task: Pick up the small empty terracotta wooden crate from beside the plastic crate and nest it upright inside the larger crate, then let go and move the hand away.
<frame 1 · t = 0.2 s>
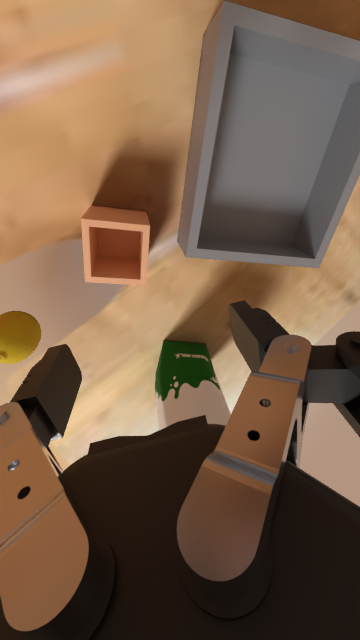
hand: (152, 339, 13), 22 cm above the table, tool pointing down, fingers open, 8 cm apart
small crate: (119, 235, 30), on the table
milk carton: (180, 357, 43), on the table
lemon: (25, 317, 34), on the table
big crate: (257, 166, 29), on the table
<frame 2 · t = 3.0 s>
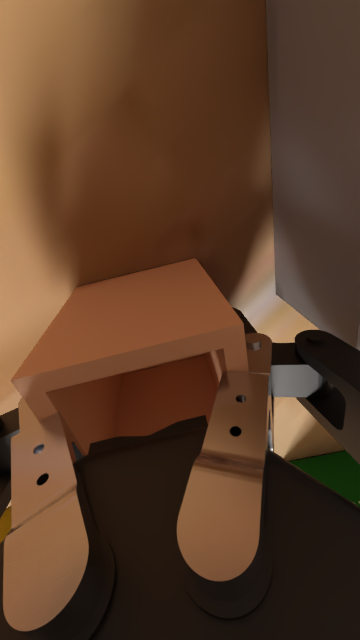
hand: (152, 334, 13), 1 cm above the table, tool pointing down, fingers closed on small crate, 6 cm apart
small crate: (152, 324, 14), on the table, touching gripper
milk carton: (313, 477, 23), on the table
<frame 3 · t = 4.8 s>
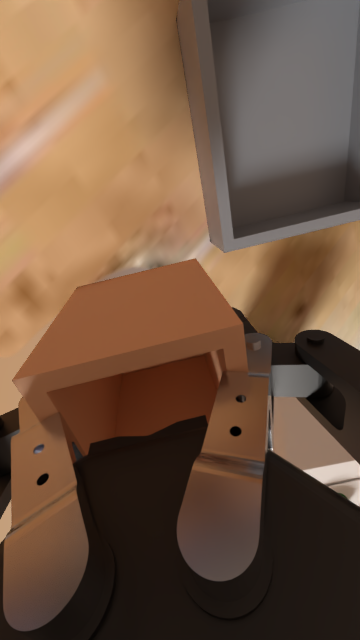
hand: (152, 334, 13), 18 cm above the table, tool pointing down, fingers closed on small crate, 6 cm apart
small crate: (152, 324, 14), point 17 cm above the table, touching gripper
milk carton: (249, 365, 38), on the table
big crate: (275, 129, 25), on the table
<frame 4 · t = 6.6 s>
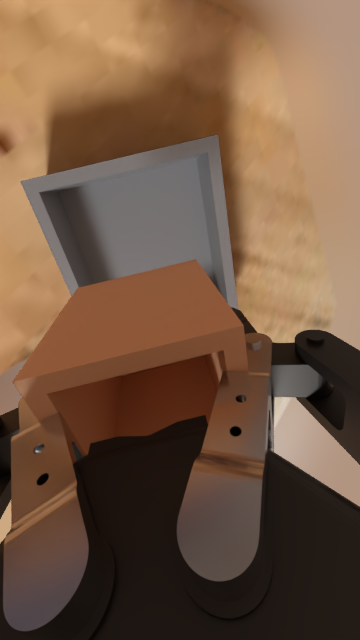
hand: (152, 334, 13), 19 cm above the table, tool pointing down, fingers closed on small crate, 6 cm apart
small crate: (152, 325, 14), point 18 cm above the table, touching gripper
big crate: (148, 253, 30), on the table
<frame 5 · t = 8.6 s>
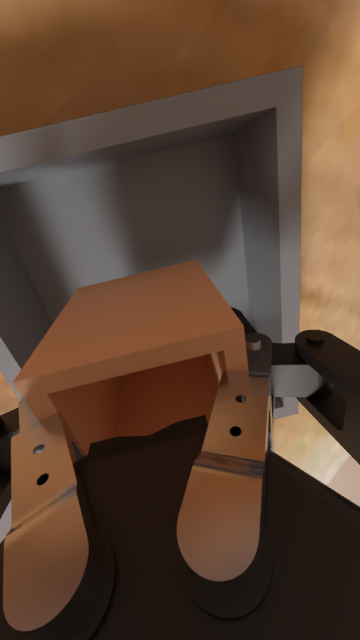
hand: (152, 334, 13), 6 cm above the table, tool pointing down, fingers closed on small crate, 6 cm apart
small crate: (152, 325, 14), point 5 cm above the table, touching gripper
big crate: (148, 290, 19), on the table
when the fingers open (4 cm above the table, at t = 10.2 s): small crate drops 2 cm, resting on big crate.
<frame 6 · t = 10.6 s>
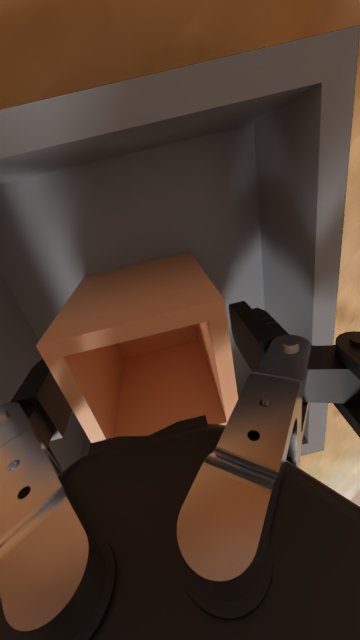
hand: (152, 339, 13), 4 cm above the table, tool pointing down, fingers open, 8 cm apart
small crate: (151, 312, 16), point 1 cm above the table, touching big crate
big crate: (150, 306, 16), on the table
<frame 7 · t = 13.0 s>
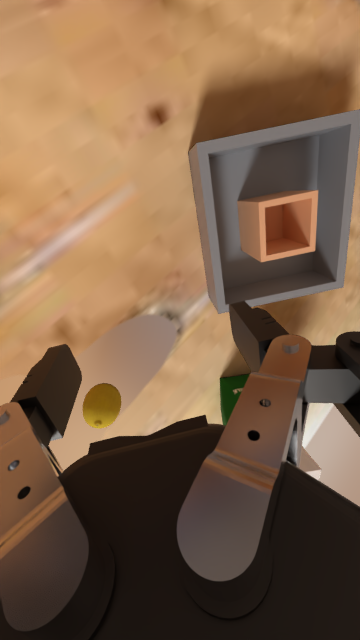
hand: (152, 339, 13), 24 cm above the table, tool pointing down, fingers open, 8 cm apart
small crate: (262, 221, 33), point 1 cm above the table, touching big crate
milk carton: (239, 389, 46), on the table
lemon: (106, 386, 43), on the table
big crate: (259, 220, 34), on the table
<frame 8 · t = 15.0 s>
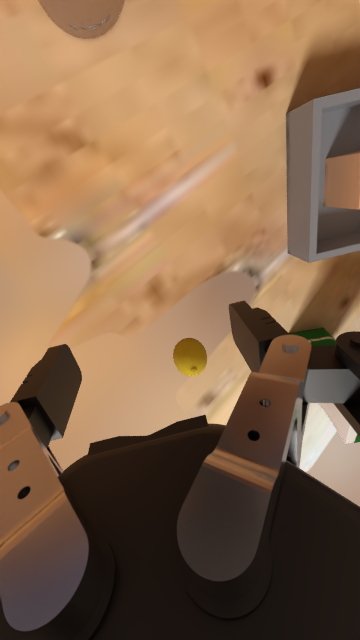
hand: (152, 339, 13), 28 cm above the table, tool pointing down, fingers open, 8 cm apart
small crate: (344, 178, 36), point 1 cm above the table, touching big crate
milk carton: (303, 345, 50), on the table
lemon: (186, 342, 47), on the table
big crate: (341, 178, 37), on the table
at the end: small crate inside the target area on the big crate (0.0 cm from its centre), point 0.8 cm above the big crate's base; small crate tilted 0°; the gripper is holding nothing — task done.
